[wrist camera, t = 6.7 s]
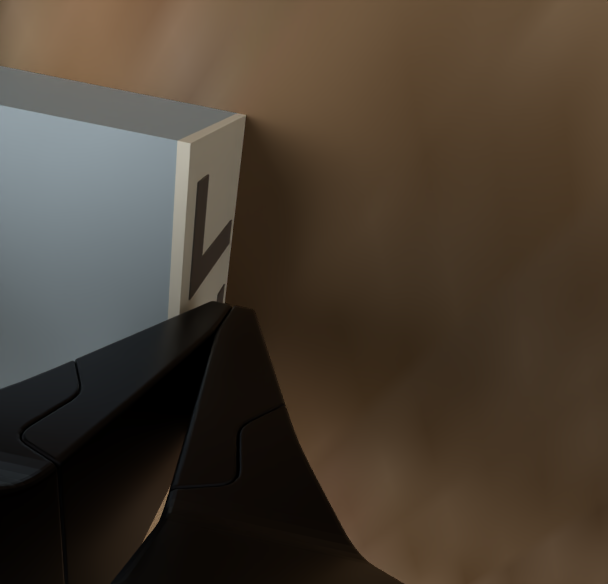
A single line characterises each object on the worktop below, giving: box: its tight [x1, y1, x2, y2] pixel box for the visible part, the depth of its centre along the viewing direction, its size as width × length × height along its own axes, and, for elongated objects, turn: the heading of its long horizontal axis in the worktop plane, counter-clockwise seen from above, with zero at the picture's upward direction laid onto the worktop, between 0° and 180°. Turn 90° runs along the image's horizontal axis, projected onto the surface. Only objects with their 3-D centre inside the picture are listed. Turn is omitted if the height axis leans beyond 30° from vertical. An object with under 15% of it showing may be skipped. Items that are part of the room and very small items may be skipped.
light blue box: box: [0, 66, 246, 389], centre depth 10 cm, size 7×4×8 cm
